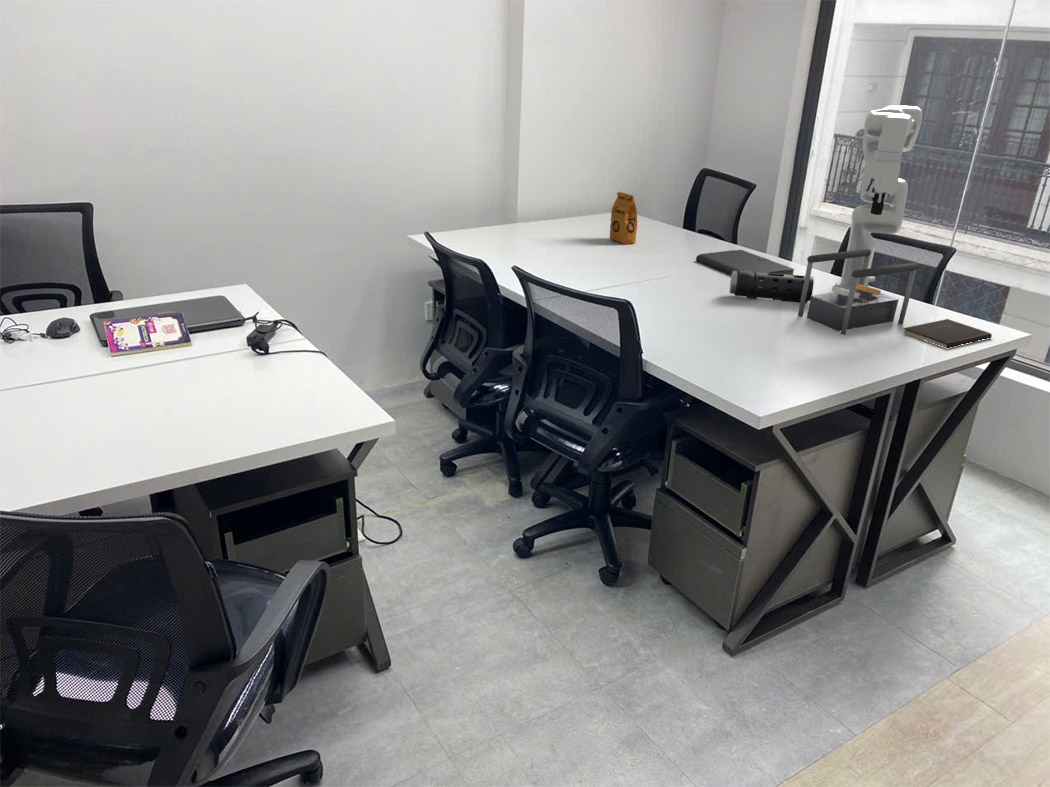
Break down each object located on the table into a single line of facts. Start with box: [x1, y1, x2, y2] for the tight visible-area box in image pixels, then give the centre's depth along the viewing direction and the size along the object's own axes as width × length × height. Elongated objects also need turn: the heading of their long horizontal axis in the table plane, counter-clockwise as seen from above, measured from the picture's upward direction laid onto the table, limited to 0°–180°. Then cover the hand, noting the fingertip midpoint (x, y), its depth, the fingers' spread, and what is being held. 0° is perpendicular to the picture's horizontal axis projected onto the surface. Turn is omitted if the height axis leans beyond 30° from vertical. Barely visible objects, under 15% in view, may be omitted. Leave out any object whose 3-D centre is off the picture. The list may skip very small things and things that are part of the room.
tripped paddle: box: [856, 284, 882, 295], centre depth 262 cm, size 8×5×2 cm, turn 117°
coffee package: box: [609, 191, 638, 245], centre depth 353 cm, size 10×12×22 cm
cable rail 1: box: [797, 249, 871, 318], centre depth 267 cm, size 29×2×21 cm, turn 116°
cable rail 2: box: [840, 262, 919, 336], centre depth 252 cm, size 29×2×21 cm, turn 116°
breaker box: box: [806, 289, 900, 332], centre depth 262 cm, size 26×14×9 cm, turn 117°
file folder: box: [695, 249, 795, 276], centre depth 320 cm, size 33×4×24 cm
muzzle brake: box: [729, 270, 815, 304], centre depth 280 cm, size 10×28×10 cm, turn 78°
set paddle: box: [830, 286, 860, 298], centre depth 258 cm, size 8×5×2 cm, turn 117°
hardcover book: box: [903, 318, 993, 349], centre depth 252 cm, size 16×23×2 cm
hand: (875, 214), depth 255 cm, fingers closed
